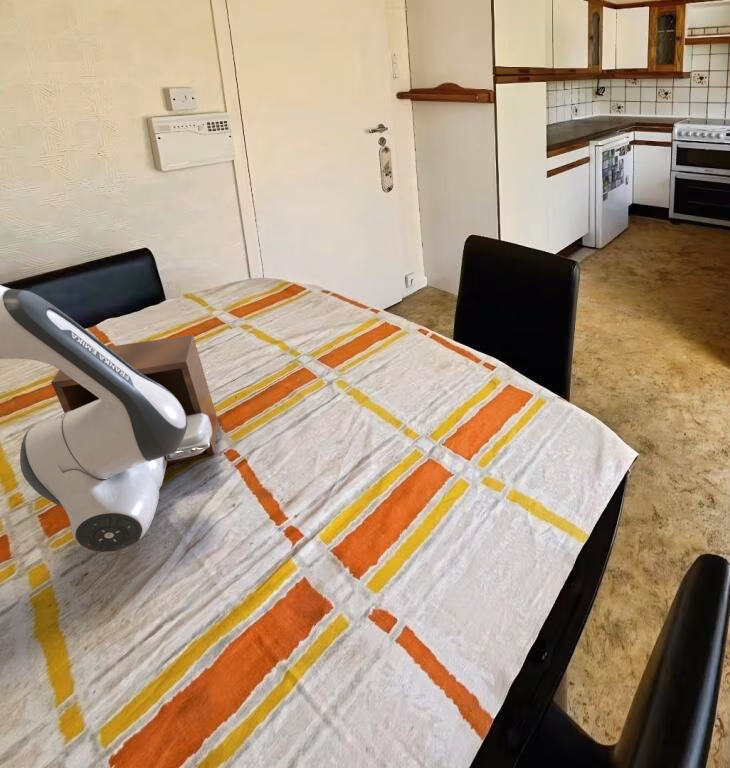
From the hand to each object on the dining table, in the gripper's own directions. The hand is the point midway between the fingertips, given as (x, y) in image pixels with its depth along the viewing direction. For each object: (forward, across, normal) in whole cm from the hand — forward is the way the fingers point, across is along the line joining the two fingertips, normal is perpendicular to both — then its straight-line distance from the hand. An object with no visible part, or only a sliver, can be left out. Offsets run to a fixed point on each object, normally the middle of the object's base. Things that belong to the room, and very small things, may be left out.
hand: (146, 418), depth 102 cm
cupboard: (+1, 0, +7) cm, 7 cm away
